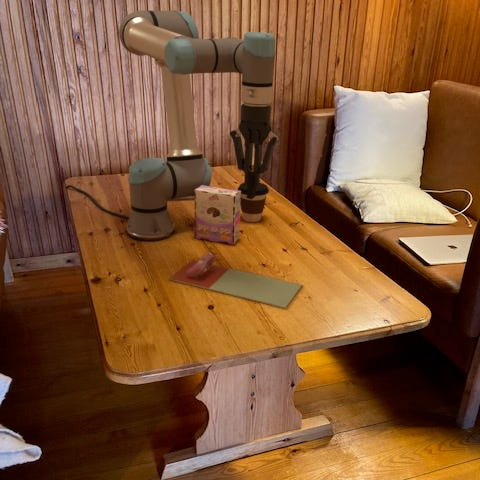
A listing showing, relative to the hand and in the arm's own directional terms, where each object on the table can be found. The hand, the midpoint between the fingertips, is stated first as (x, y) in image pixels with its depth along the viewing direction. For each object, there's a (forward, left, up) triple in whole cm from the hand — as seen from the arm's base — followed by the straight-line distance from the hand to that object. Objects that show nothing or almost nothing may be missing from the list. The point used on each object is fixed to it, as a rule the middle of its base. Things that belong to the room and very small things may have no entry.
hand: (251, 197), depth 143 cm
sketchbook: (-55, +57, -23) cm, 82 cm away
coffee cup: (-15, +40, -23) cm, 48 cm away
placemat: (0, -8, -22) cm, 24 cm away
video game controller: (-11, -8, -22) cm, 26 cm away
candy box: (-18, +18, -23) cm, 34 cm away
